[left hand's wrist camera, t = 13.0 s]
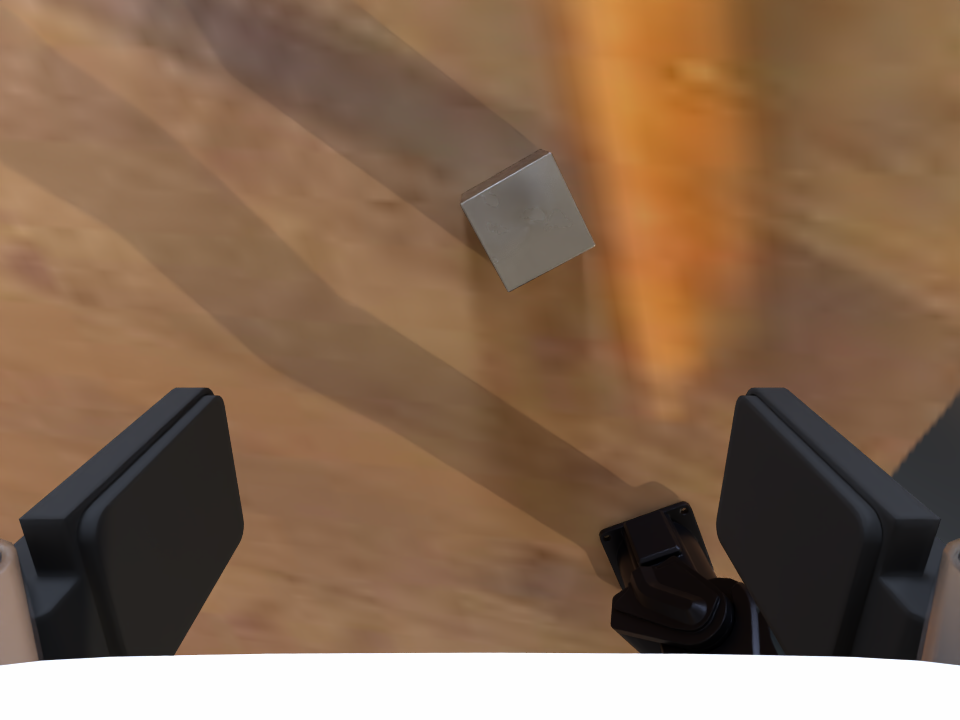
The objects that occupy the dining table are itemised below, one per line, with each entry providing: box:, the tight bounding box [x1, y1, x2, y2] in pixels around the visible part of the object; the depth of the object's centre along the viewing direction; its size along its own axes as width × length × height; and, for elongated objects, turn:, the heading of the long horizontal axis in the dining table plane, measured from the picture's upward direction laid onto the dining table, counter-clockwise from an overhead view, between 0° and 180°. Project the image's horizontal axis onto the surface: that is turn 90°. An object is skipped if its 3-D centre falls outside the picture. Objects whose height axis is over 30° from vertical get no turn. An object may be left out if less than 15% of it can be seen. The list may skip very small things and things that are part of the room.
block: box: [460, 149, 596, 292], centre depth 32 cm, size 5×5×4 cm
